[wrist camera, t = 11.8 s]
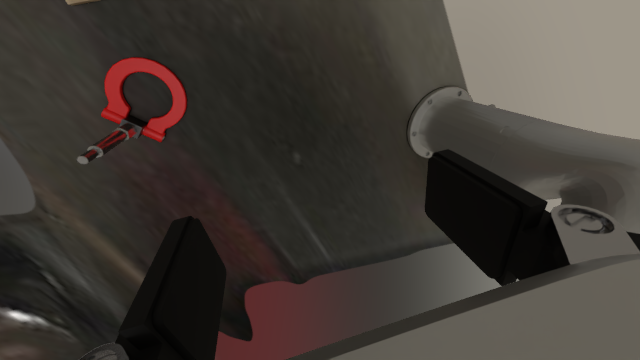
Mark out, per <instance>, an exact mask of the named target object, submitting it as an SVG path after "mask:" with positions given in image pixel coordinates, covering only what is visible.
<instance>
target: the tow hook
mask: <svg viewBox="0 0 640 360" xmlns="http://www.w3.org/2000/svg"><path fill="white" fill-rule="evenodd" d="M135 72H147V73H150V74H153V75H155V76H157V77H159V78H160V79H161V80H163V81H164V82H165V83H166V85H167V86H168V87H169V89H170V91H171V93H172V97H173V105H172V108H171V110H170V111H169V112H168V113H167V114H166V115H164V116H161V117H153V118H151V119H150V120H149V122H148V124H147V123H145V122H142V121H140V120H138V119H136V118H134V117H131V116H128V115H129V113H130V110H131V107H130V106H129V105H128V103H127V102H126V100H125V98H124V95H123V89H122V86H123V83H124V80H125V79H126V78H127V77H128V76H129V75H131V74H132V73H135ZM104 82H105V93H106V96H107V99H108V101H109V103H108V106H107V107H106V108H105V109H104V110H103V111H102V114H101V116H102V117H104V118H106V119H108V120H111V121H113V122H115V123H118V124H120V125H119V127H118V128H117V129H115V130H113V133H111V134H110V135H108V136H106V137H105V138H103V139H101V140H100V141H98V142H96V143H95V144H93V145H91V146H90V147H88V149H87V152H85V153H84V154H82V155H80V156H79V157H77V161H78V162H79V163H80V164H87V163H89V162H90V161H92V160H93V159H94V158H100V157H102V156H103V155H104V154H106V153H107V152H109V151H110V150H111V149H113V148H114V147H115V146H117V145H118V144H120V143H121V142H124V141H126V140H128V139H129V138H131V137H135V138H138V137H140V136H141V135H142V134H143V135H145V136H147V137H150V138H152V139H154V140H157V141H159V142H162V141H163V140H164V138H165V135H166V133H164V132H165V130H166V128H169V127H171V126H173V125H174V124H176V123H178V121H179V120H180V119H181V118H182V117H183V116H184V113H185V111H186V108H187V96H186V91H185V89H184V87H183V85H182V83H181V81H180V80H179V79H178V77H177V76H176V75H175V74H174V73H173V72H172V71H171V70H170V69H168V68H167V67H166V66H164V65H162V64H160V63H158V62H156V61H154V60H150V59H147V58H134V57H133V58H127V59H123V60H120V61H119V62H117V63H116V64H114V65H113V66H112V67H111V68H110V69H109V71H108V72H107V75H106V78H105V81H104Z"/></svg>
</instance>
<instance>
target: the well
mask: <svg viewBox="0 0 640 360" xmlns="http://www.w3.org/2000/svg"><path fill="white" fill-rule="evenodd" d="M94 1H99V0H66V2H67V3H68V5H79V4H84V3H89V2H94Z"/></svg>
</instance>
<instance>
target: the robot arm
mask: <svg viewBox="0 0 640 360" xmlns="http://www.w3.org/2000/svg"><path fill="white" fill-rule="evenodd" d="M407 136H408V142H409V144H410V147H411V148H412V149H413V151H414V152H416V153H417V154H419V155H420V156H422V157H425V158H429V161H428V174H427V187H426V199H425V212H426V214H427V216H428V217H429V218H430V219H431V220H432V221H433V222H434V223H435V224H436V225H437V226H438V227H439V228H440V229H441V230H442V231H443V232H444V233H445V234H446V235H447V236H448V237H449V238H450V239H451V240H452V241H453V242H454V243H455V244H456V245H457V246H458V247H459V248H460V249H461V250H462V251H463V252H464V253H465V254H466V255H467V256H468V257H469V258H470V259H471V260H472V261H473V262H474V263H475V264H476V265H477V266H478V267H479V268H480V269H481V270H482V271H483V272H484V273H485V274H486V275H487V276H488V277H490V278H494V279H495V280H496V281H497V282H498V283H499V284H500V285H501V286H502V287H499V288H496V289H493V290H490V291H487V292H484V293H481V294H478V295H475V296H472V297H469V298H466V299H463V300H460V301H457V302H454V303H451V304H448V305H445V306H442V307H439V308H436V309H433V310H430V311H427V312H424V313H421V314H418V315H415V316H412V317H409V318H406V319H403V320H400V321H397V322H394V323H391V324H388V325H386V326H382V327H380V328H376V329H374V330H371V331H368V332H365V333H362V334H359V335H356V336H353V337H350V338H347V339H344V340H341V341H338V342H335V343H333V344H330V345H327V346H324V347H321V348H318V349H315V350H312V351H309V352H306V353H303V354H301V355H298V356H295V357H292V358H289V359H286V360H640V140H638V139H631V138H625V137H619V136H612V135H607V134H600V133H596V132H592V131H587V130H583V129H578V128H573V127H569V126H564V125H561V124H556V123H553V122H549V121H545V120H541V119H537V118H533V117H530V116H526V115H522V114H518V113H514V112H510V111H506V110H502V109H498V108H496V107H495V105H489V106H486V105H482V104H479V103H475V102H473V100H472V98H471V96H470V95H469V93H468V92H466V91H465V90H464V89H461V88H458V87H453V86H447V87H442V88H439V89H437V90H435V91H433V92H431V93H430V94H428V95H427V96H426V97H425V98H424V99H423V100H422V101H421V102H420V103H419V104H418V105H417V107H416V108H415V110H414V112H413V113H412V115H411V118H410V121H409V124H408V131H407ZM557 198H562V202H561V205H559V206H557V207H554V208H553V209H552V211H551V212H550V213H549V212H548V211H546V210H545V208H546V205H547V201H545V200H547V199H557ZM516 279H519V280H520V281H517V282H516ZM225 281H226V268H225V266H224V264H223V262H222V260H221V258H220V256H219V255H218V253H217V251H216V249H215V247H214V246H213V244H212V242H211V240H210V238H209V236H208V235H207V233H206V231H205V229H204V227H203V226H202V224H201V222H200V220H199V219H197V218H196V219H194V218H193V217H192V216H188V217H185V218H181V219H177V220H174V221H173V222H172V223H171V225H170V228H169V230H168V232H167V234H166V236H165V238H164V240H163V242H162V244H161V246H160V248H159V250H158V252H157V254H156V256H155V258H154V260H153V262H152V264H151V266H150V268H149V270H148V272H147V274H146V276H145V278H144V280H143V282H142V285H141V287H140V289H139V291H138V293H137V295H136V297H135V299H134V301H133V303H132V305H131V307H130V309H129V311H128V313H127V315H126V317H125V319H124V321H123V323H122V325H121V327H120V329H119V331H118V332H119V336H118V338H117V340H116V342H115V343H109V344H105V345H102V346H100V347H98V348H96V349H93V350H92V351H90V352H89V353H87V354H86V355H84V356H83V357H81V358H80V359H79V360H214V359H215V352H216V345H217V338H218V331H219V324H220V317H221V309H222V302H223V295H224V288H225ZM513 282H514V283H513ZM510 283H511V284H510ZM507 284H508V285H507ZM504 285H505V286H504Z"/></svg>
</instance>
